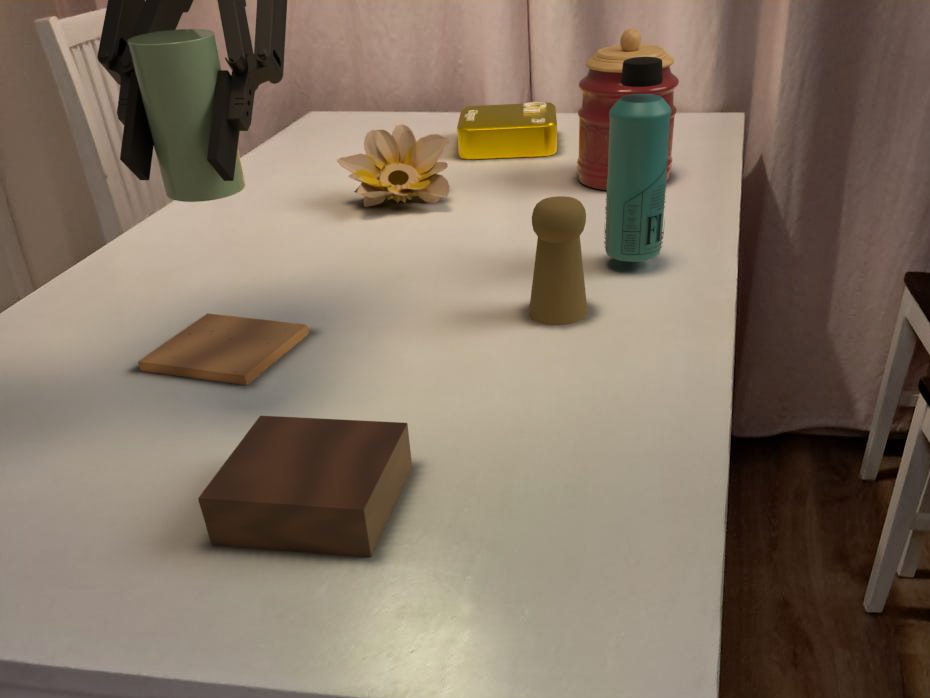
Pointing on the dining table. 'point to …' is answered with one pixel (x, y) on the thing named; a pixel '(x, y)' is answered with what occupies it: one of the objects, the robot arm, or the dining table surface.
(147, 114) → the sage cup
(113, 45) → the robot arm
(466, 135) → the element tile
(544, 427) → the dining table surface
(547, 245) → the pepper shaker
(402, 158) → the decorative flower
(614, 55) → the kitchen canister
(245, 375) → the wooden trivet
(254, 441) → the walnut block
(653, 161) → the beverage bottle
